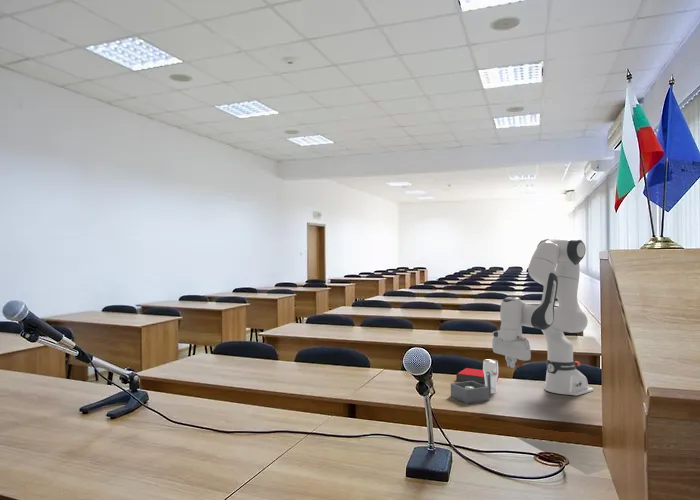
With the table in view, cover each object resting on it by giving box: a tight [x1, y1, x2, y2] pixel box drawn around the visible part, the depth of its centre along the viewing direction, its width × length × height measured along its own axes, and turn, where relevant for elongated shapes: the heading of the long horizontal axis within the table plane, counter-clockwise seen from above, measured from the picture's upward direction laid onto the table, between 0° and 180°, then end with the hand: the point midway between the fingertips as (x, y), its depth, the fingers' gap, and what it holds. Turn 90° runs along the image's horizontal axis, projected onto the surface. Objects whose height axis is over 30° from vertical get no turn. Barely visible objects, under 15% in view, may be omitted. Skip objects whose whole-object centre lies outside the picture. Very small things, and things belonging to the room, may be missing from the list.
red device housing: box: [455, 367, 500, 385], centre depth 245 cm, size 18×14×5 cm
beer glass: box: [482, 358, 499, 394], centre depth 225 cm, size 7×7×15 cm
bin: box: [450, 381, 490, 405], centre depth 216 cm, size 12×12×6 cm
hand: (511, 367), depth 205 cm, fingers closed
